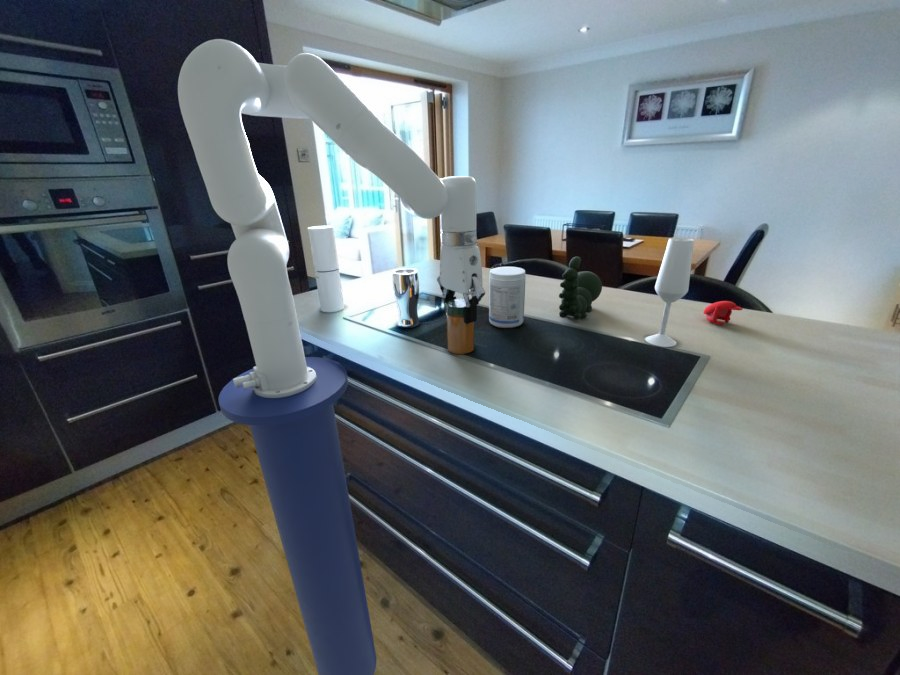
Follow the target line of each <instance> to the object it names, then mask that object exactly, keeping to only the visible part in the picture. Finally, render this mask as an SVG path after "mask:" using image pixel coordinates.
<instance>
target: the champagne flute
mask: <svg viewBox="0 0 900 675" xmlns="http://www.w3.org/2000/svg"><path fill="white" fill-rule="evenodd" d="M694 243H695V239H693V238H690V237H670V238H668V241H667V244H666V248H665V251H664V255H663V258H662V261H661V264H660V267H659V272H658V275H657V278H656V281H655V285H654V290H655V292H656V294H657V296H658V297H659V298H660V299H661V300H662V301H663V302H664V303H665V304H664V308H663V314H662V317H661V323H660V328H659V333H655V334H652V335H649V336H646V337H645V338H644V339H645V341H646V342H647V343H648V344H651V345H653V346H656V347H661V348H662V347H663V348H671V347H674V346H676V345H677V341H676V340H674V339H673V338H671V337H670V336H669V335H667V334H666V331H667V327H668V326H667V325H668V321H669V316H670V311H671V306H672V303H675V302H677V301H679V300H680V299H682V298H683V297H685V296H686V295H687V294H688V293H689V287H690V280H691V271H692V263H693V262H692V261H693V253H694Z"/></svg>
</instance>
